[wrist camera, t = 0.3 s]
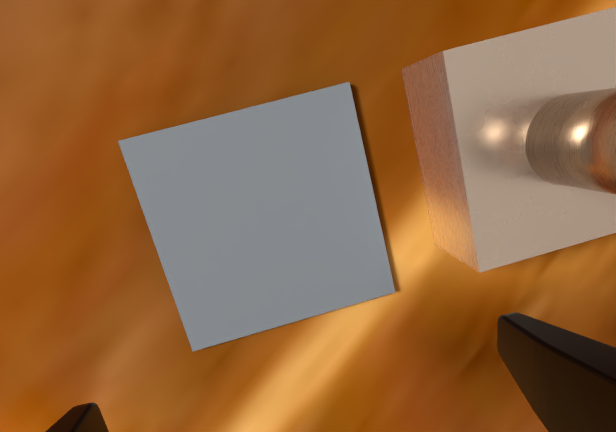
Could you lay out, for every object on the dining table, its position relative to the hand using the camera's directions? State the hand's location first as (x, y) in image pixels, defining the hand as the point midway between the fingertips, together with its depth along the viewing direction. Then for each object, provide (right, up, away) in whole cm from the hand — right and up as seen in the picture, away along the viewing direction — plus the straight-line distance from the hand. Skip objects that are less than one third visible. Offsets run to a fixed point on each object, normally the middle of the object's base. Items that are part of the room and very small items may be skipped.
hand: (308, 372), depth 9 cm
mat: (-2, +3, +13) cm, 14 cm away
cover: (+11, +8, +14) cm, 20 cm away
